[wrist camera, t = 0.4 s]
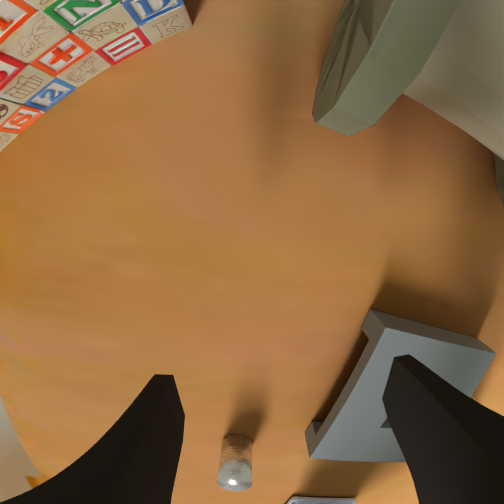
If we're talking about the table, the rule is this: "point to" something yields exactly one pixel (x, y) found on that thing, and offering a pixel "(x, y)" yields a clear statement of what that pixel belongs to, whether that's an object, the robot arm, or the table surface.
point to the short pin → (235, 463)
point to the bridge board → (374, 382)
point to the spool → (417, 66)
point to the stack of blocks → (70, 48)
